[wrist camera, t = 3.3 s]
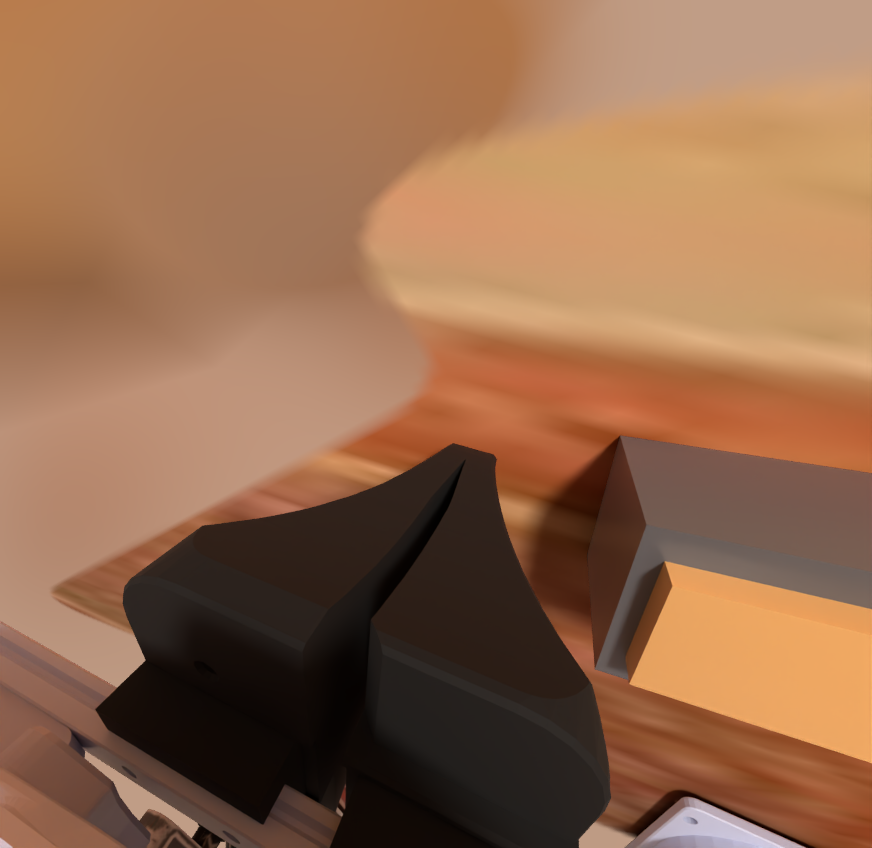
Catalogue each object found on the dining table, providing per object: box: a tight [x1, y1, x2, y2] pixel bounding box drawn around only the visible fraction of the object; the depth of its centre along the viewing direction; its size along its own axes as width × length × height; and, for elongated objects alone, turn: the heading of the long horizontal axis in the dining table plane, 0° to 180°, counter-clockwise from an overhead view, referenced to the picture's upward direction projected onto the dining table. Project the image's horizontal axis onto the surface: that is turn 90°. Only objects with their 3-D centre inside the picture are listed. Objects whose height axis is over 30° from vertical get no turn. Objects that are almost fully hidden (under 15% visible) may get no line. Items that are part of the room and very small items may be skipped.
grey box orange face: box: [587, 436, 872, 763], centre depth 8 cm, size 4×7×5 cm, turn 88°
